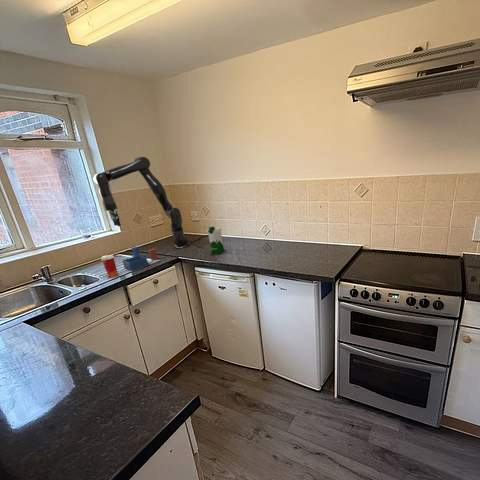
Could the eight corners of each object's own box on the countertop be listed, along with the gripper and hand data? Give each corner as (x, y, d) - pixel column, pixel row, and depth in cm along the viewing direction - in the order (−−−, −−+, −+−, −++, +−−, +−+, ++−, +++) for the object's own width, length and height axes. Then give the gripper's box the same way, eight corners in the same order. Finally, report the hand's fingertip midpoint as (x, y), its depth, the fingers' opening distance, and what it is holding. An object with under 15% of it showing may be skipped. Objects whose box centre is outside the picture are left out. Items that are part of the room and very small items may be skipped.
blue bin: (141, 262, 222) (139, 255, 220) (148, 264, 214) (146, 257, 212) (124, 267, 214) (122, 260, 212) (131, 270, 206) (129, 262, 204)
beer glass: (110, 274, 203) (103, 255, 198) (121, 273, 203) (115, 253, 198) (105, 279, 196) (98, 258, 190) (116, 277, 196) (110, 257, 191)
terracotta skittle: (156, 258, 229) (153, 248, 226) (158, 259, 226) (156, 249, 223) (150, 260, 226) (147, 249, 223) (153, 260, 223) (150, 250, 220)
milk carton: (210, 254, 222) (204, 228, 214) (217, 250, 229) (212, 225, 222) (219, 254, 218) (214, 228, 211) (226, 251, 225) (221, 225, 218)
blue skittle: (138, 256, 240) (136, 246, 237) (141, 256, 238) (138, 247, 235) (133, 257, 238) (130, 248, 235) (135, 258, 235) (132, 248, 232)
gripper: (117, 201, 206) (125, 224, 212) (112, 201, 216) (120, 223, 222) (106, 204, 202) (114, 227, 208) (101, 204, 212) (110, 226, 218)
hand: (117, 225), depth 215 cm, fingers open, 8 cm apart
